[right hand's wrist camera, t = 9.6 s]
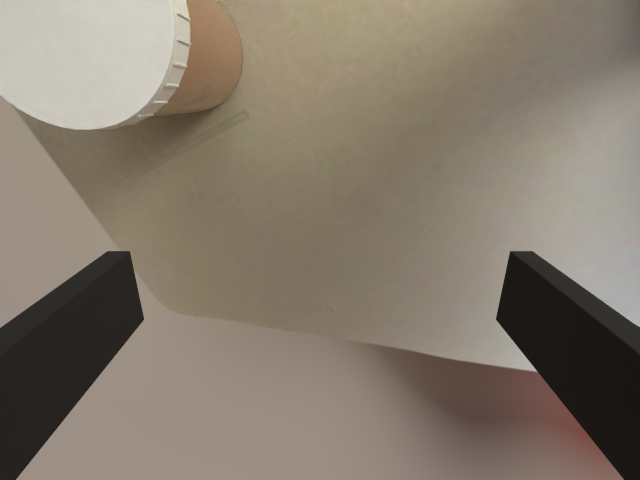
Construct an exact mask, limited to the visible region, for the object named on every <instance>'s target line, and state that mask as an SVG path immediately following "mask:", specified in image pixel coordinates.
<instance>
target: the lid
mask: <svg viewBox="0 0 640 480" xmlns="http://www.w3.org/2000/svg"><path fill="white" fill-rule="evenodd" d="M190 21H191V19H190V18H189V12H188V8H187V3H186V0H0V96H2V97H3V98H4V99H5V100H6V101H8V102H9V103H11V104H12V105H14V106H15V107H16V108H18V109H19V110H21V111H23V112H25V113H26V114H28V115H30V116H32V117H34V118H36V119H38V120H41V121H43V122H46V123H48V124H51V125H55V126H58V127H62V128H68V129H74V130H80V131H82V130H95V129H100V131H102V130H109V129H116V128H119V127H118V126H127V125H134V124H137V122H139V121H141V120H143V119H145V118H147V117H149V116H153V115H154V114H153V113H155V112H157V111H158V110H159V109H160V108H161V107H162V106H163V105H164V104H167V103H168V100H169V99H170V97H171V96H172V95H173V94H174V92H175V90H176V88H177V87H179V83H180V81H181V79H182V76H183V74H184V72H185V68H187V65H186V64H187V60H188V55H189V48H190V45H191V43H190Z"/></svg>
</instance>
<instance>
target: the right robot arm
mask: <svg viewBox="0 0 640 480" xmlns="http://www.w3.org/2000/svg"><path fill="white" fill-rule="evenodd" d="M143 320H144V317H143V312H142V307H141V303H140V298H139V293H138V288H137V283H136V279H135V274H134V269H133V264H132V260H131V255H130V251H108V252H106V253H105V254H103V255H102V256H100V257H99V258H98V259H96V260H95V261H93V262H92V263H91V264H89V265H88V266H86V267H85V268H84V269H82V270H81V271H79V272H78V273H77V274H75V275H74V276H72V277H71V278H70V279H68V280H67V281H66V282H64V283H63V284H61V285H60V286H58V287H57V288H56V289H54V290H53V291H51V292H50V293H49V294H47V295H46V296H44V297H43V298H42V299H40V300H39V301H37V302H36V303H35V304H33V305H32V306H30V307H29V308H28V309H26V310H25V311H23V312H22V313H21V314H19V315H18V316H16V317H15V318H14V319H12V320H11V321H9V322H8V323H7V324H5V325H4V326H2V327H1V328H0V480H16V479H17V477H18V476H19V475H20V474H21V472H22V471H23V470H24V469H25V467H26V466H27V465H28V464H29V462H30V461H31V460H32V459H33V457H34V456H35V455H36V454H37V452H38V451H39V450H40V449H41V447H42V446H43V445H44V444H45V442H46V441H47V440H48V439H49V437H50V436H51V435H52V434H53V432H54V431H55V430H56V429H57V427H58V426H59V425H60V424H61V422H62V421H63V420H64V419H65V417H66V416H67V415H68V414H69V412H70V411H71V410H72V409H73V407H74V406H75V405H76V404H77V402H78V401H79V400H80V399H81V397H82V396H83V395H84V394H85V392H86V391H87V390H88V389H89V387H90V386H91V385H92V384H93V382H94V381H95V380H96V379H97V377H98V376H99V375H100V374H101V372H102V371H103V370H104V369H105V368H106V366H107V365H108V364H109V363H110V361H111V360H112V359H113V358H114V356H115V355H116V354H117V353H118V351H119V350H120V349H121V347H122V346H123V345H124V344H125V343H126V341H127V340H128V339H129V338H130V336H131V335H132V334H133V333H134V331H135V330H136V329H137V328H138V326H139V325H140V324H141V323H142V321H143ZM496 320H497V321H498V323H499V324H500V325H501V326H502V328H503V329H504V330H505V331H506V333H507V334H508V335H509V336H510V338H511V339H512V340H513V341H514V343H515V344H516V345H517V346H518V348H519V349H520V350H521V351H522V353H523V354H524V355H525V356H526V358H527V359H528V360H529V361H530V363H531V364H532V365H533V366H534V368H535V369H536V370H537V371H538V373H539V374H540V375H541V376H542V378H543V379H544V380H545V381H546V383H547V384H548V385H549V386H550V387H551V389H552V390H553V391H554V392H555V394H556V395H557V396H558V397H559V399H560V400H561V401H562V402H563V404H564V405H565V406H566V407H567V409H568V410H569V411H570V412H571V414H572V415H573V416H574V417H575V419H576V420H577V421H578V422H579V424H580V425H581V426H582V427H583V429H584V430H585V431H586V432H587V434H588V435H589V436H590V437H591V439H592V440H593V441H594V442H595V444H596V445H597V446H598V447H599V449H600V450H601V451H602V452H603V454H604V455H605V456H606V457H607V459H608V460H609V461H610V462H611V464H612V465H613V466H614V467H615V469H616V470H617V471H618V472H619V474H620V475H621V476H622V477H623V479H624V480H640V327H639V326H636V325H635V324H633V323H632V322H631V321H629V320H628V319H626V318H625V317H624V316H622V315H621V314H619V313H618V312H617V311H615V310H614V309H612V308H611V307H610V306H608V305H607V304H605V303H604V302H603V301H601V300H600V299H598V298H597V297H596V296H594V295H593V294H591V293H590V292H589V291H587V290H586V289H584V288H583V287H582V286H580V285H579V284H577V283H576V282H575V281H573V280H572V279H570V278H569V277H568V276H566V275H565V274H563V273H562V272H561V271H559V270H558V269H556V268H555V267H554V266H552V265H551V264H549V263H548V262H547V261H545V260H544V259H542V258H541V257H540V256H538V255H537V254H535V253H534V252H533V251H510V255H509V260H508V264H507V269H506V274H505V279H504V283H503V288H502V293H501V298H500V303H499V307H498V312H497V317H496Z"/></svg>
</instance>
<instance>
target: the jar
mask: <svg viewBox="0 0 640 480" xmlns="http://www.w3.org/2000/svg"><path fill="white" fill-rule="evenodd" d="M186 3H187V8H188V12H189V18H190V19H191V21H190V43H191V45H190V48H189V55H188V60H187V64H186V65H187V68H185V72H184V74H183V76H182V79H181V81H180V83H179V87H177V88H176V90H175V92H174V94H173V95H172V96H171V97H170V99H169V100H168V103H167V104H164V105H163V106H162V107H161V108H160V109H159V110H158V111H157V112H155V113H153V114H154V115H153V116H149V117H155V116H164V115H173V114H183V113H192V112H201V111H206V110H209V109H212V108H214V107H216V106H218V105H219V104H221V103H222V102H223V101H224V100H226V99H227V98H228V96H229V95H230V94H231V93H232V91H233V90H234V88H235V87H236V84H237V82H238V80H239V77H240V74H241V69H242V59H243V56H242V45H241V40H240V37H239V33H238V31H237V28H236V26H235V24H234V22H233V20H232V18H231V17H230V15H229V14H228V12H227V11H226V10H225V9H224V8H223V6H222V5H221V4H220V3H219V2H218V1H217V0H186Z"/></svg>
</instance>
